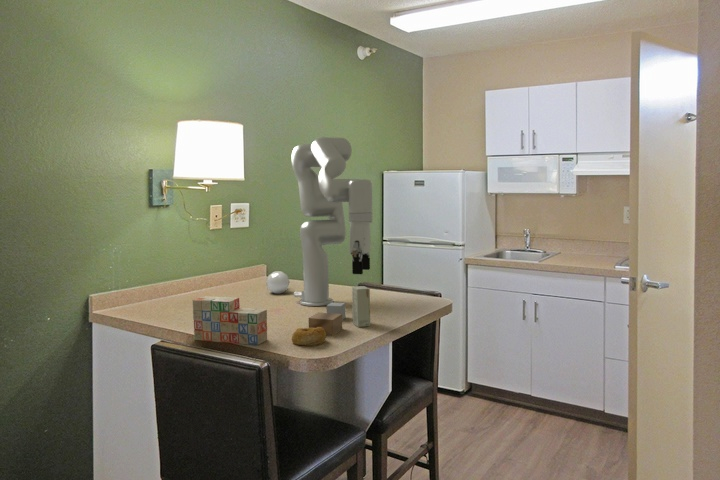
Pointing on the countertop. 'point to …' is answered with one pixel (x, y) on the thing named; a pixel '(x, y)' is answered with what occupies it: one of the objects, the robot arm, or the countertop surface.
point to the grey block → (336, 309)
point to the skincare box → (361, 306)
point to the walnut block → (327, 322)
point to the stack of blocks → (228, 321)
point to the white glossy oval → (277, 282)
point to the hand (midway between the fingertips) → (361, 271)
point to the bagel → (309, 336)
